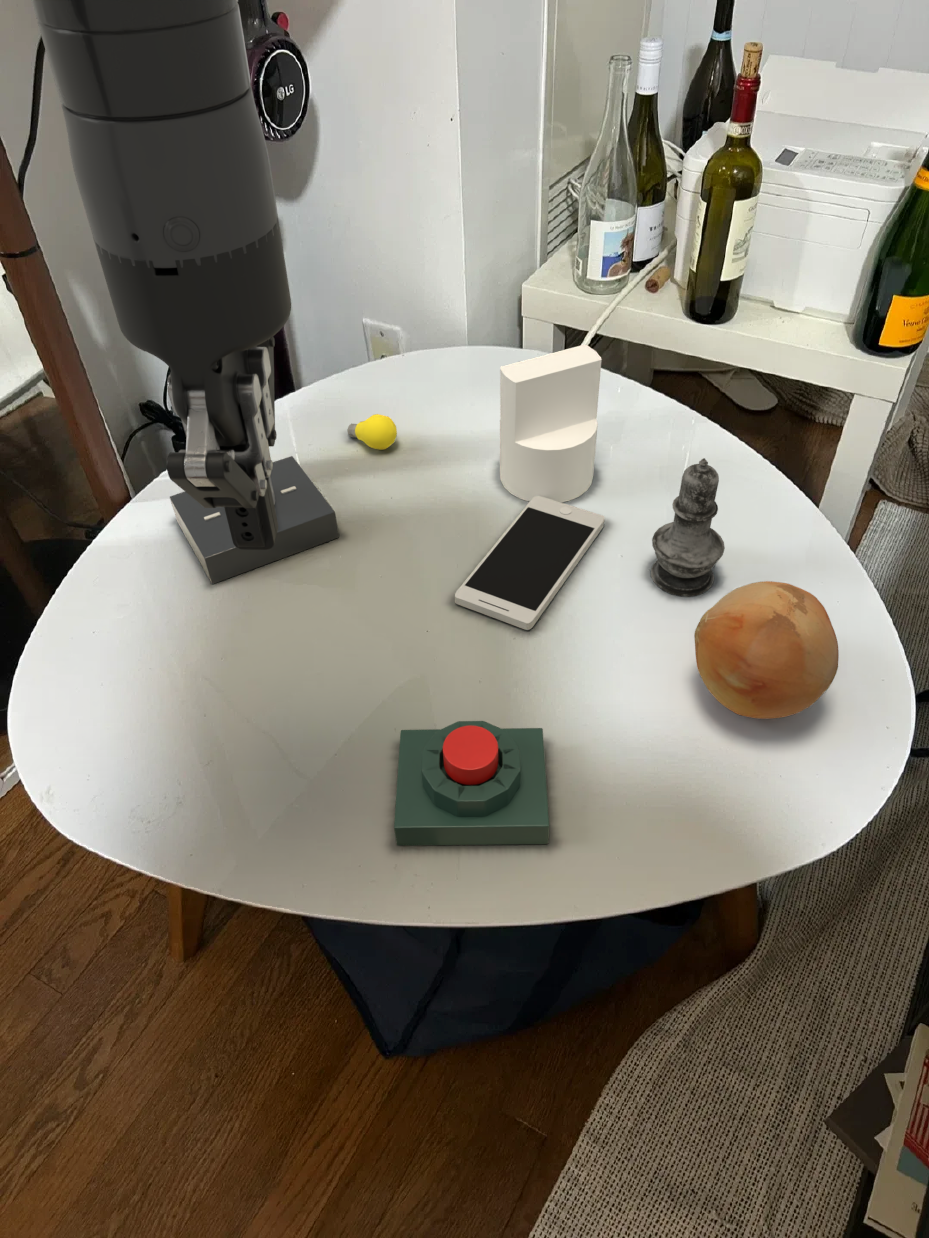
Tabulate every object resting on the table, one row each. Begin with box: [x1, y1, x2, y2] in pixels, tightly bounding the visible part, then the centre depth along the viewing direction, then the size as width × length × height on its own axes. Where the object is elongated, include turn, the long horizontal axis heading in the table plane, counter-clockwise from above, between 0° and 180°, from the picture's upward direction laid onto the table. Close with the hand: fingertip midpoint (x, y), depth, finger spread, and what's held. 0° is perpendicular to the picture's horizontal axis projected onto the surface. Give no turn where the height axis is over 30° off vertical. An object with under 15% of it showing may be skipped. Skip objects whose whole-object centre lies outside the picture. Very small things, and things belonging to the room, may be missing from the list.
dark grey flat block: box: [169, 455, 340, 585], centre depth 83 cm, size 12×10×3 cm
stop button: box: [443, 726, 498, 785], centre depth 60 cm, size 4×4×2 cm
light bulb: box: [346, 413, 398, 451], centre depth 93 cm, size 3×6×4 cm, turn 57°
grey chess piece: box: [650, 457, 726, 598], centre depth 74 cm, size 6×6×12 cm
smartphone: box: [454, 495, 606, 631], centre depth 80 cm, size 7×15×1 cm, turn 151°
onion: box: [693, 580, 840, 720], centre depth 66 cm, size 10×10×10 cm
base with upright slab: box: [499, 344, 603, 503], centre depth 85 cm, size 9×9×12 cm
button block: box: [393, 720, 550, 847], centre depth 62 cm, size 10×8×4 cm
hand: (257, 541), depth 50 cm, fingers closed
